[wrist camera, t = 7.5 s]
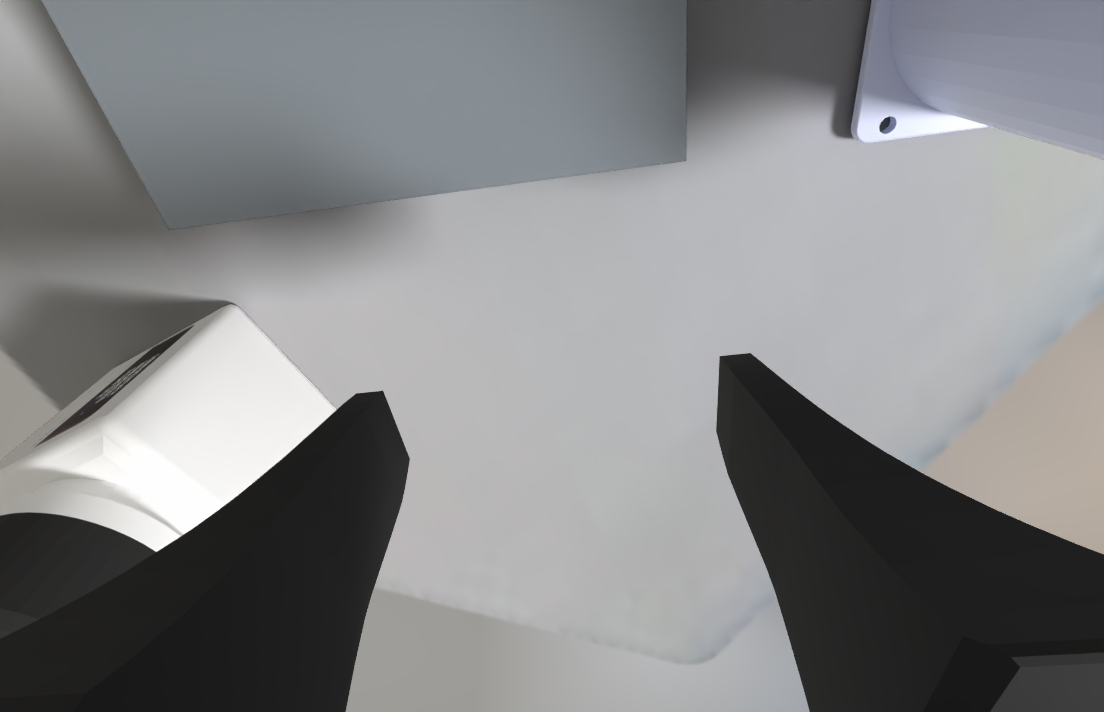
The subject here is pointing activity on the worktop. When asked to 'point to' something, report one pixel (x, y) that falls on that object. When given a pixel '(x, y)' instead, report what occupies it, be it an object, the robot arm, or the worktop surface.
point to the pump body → (376, 95)
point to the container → (145, 460)
